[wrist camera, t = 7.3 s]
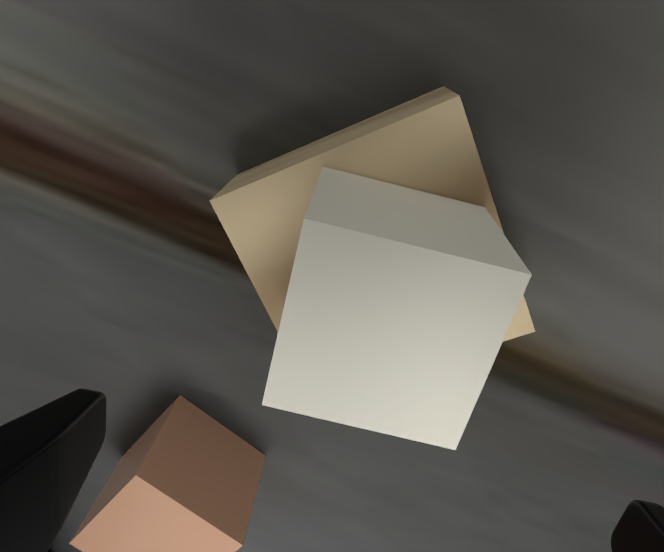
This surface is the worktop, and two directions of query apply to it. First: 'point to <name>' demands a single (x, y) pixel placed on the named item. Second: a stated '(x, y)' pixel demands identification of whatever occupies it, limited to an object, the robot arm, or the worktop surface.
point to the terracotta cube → (176, 489)
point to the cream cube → (393, 309)
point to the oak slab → (360, 159)
